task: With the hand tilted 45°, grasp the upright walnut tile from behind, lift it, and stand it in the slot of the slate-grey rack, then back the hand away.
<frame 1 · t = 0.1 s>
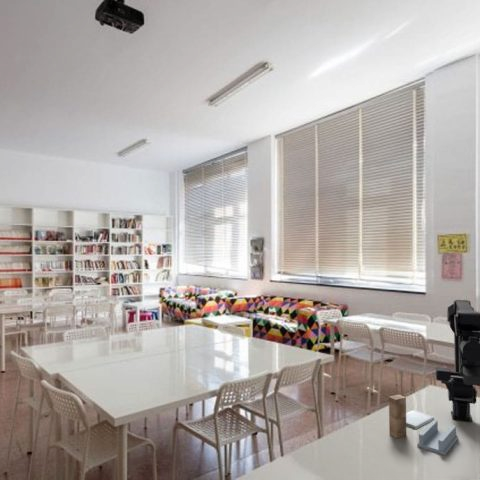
hand: (470, 405, 121), 15 cm above the table, tool pointing down, fingers open, 9 cm apart
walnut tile: (397, 434, 134), on the table
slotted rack: (438, 442, 128), on the table
hard drive: (414, 422, 145), on the table
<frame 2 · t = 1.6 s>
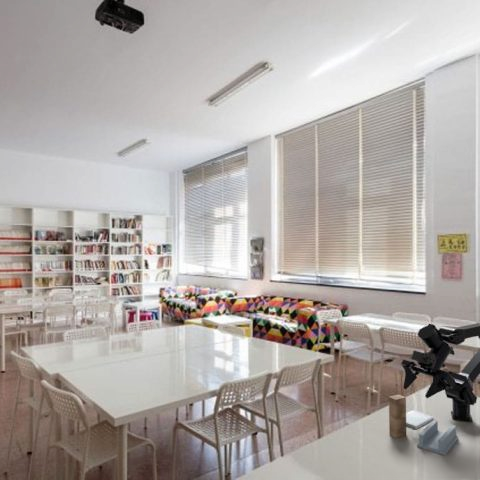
hand: (414, 392, 137), 13 cm above the table, tool tilted 45°, fingers open, 9 cm apart
nothing on the table moved.
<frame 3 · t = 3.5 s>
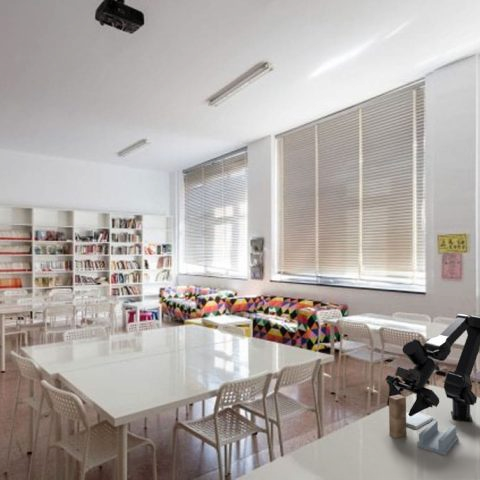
hand: (398, 410, 134), 8 cm above the table, tool tilted 45°, fingers open, 9 cm apart
nothing on the table moved.
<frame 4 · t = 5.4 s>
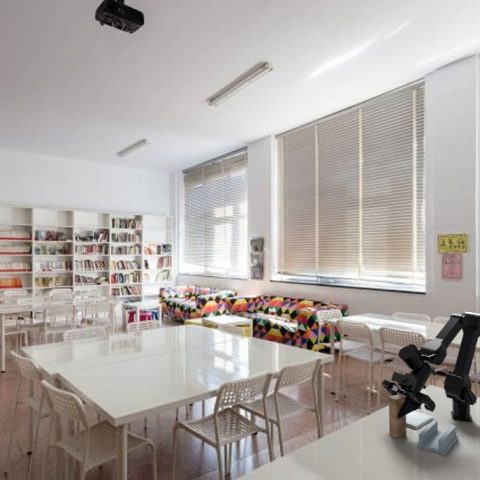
hand: (394, 415, 133), 7 cm above the table, tool tilted 45°, fingers closed on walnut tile, 3 cm apart
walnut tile: (397, 434, 134), on the table, touching gripper
everything else where it was.
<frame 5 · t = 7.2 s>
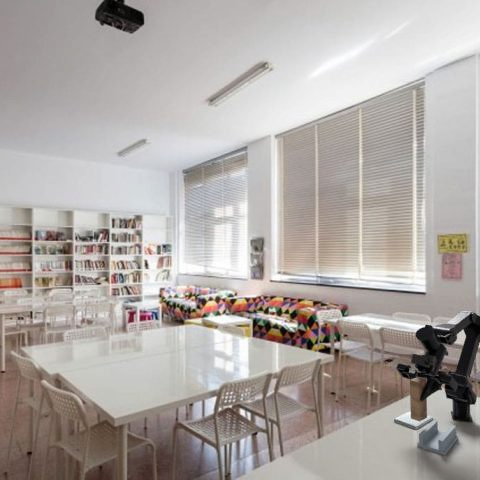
hand: (416, 398, 130), 13 cm above the table, tool tilted 45°, fingers closed on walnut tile, 3 cm apart
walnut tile: (418, 418, 130), point 7 cm above the table, touching gripper
everything else where it was.
when the fingers open (9 cm above the table, at t = 9.5 s): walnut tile drops 1 cm, resting on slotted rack.
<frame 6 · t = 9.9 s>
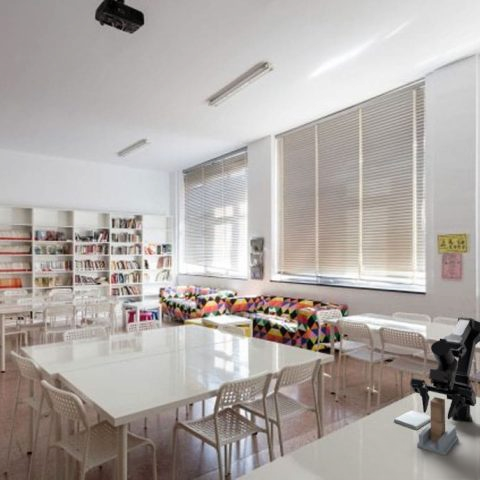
hand: (436, 415, 127), 9 cm above the table, tool tilted 45°, fingers open, 7 cm apart
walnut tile: (438, 439, 128), point 1 cm above the table, touching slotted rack
everything else where it was.
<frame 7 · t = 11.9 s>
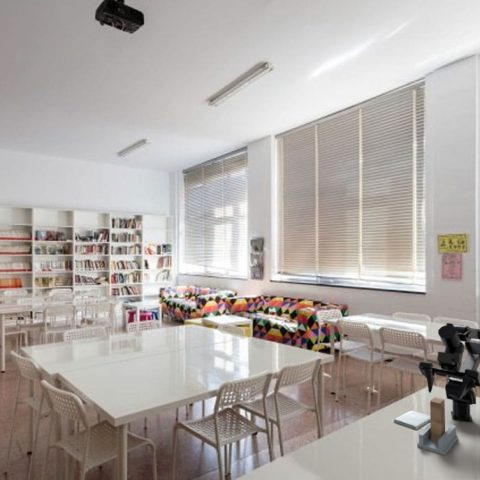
hand: (444, 395, 133), 13 cm above the table, tool tilted 45°, fingers open, 9 cm apart
nothing on the table moved.
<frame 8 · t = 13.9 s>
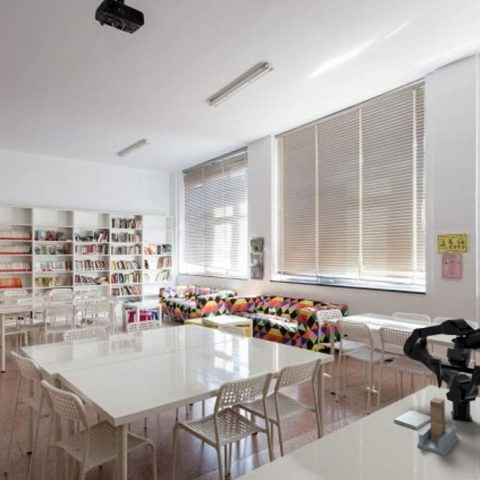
hand: (453, 391, 136), 14 cm above the table, tool tilted 45°, fingers open, 9 cm apart
nothing on the table moved.
at the end: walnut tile 0.1 cm off-centre on the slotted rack, point 1.0 cm above the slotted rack's base; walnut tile tilted 0°; the gripper is holding nothing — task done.
